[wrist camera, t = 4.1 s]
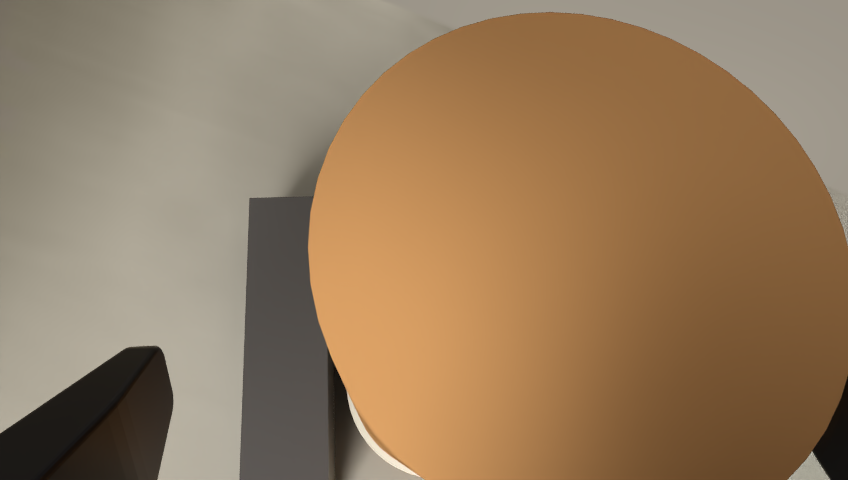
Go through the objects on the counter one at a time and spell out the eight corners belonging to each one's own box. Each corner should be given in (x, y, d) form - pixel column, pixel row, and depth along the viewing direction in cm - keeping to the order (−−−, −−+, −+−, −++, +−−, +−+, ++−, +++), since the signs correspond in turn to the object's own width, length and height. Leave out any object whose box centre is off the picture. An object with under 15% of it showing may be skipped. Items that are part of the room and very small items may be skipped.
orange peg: (514, 467, 16) (963, 541, 4) (352, 479, 16) (282, 607, 3) (497, 308, 18) (784, 0, 5) (348, 315, 17) (290, -4, 5)
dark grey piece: (604, 489, 16) (644, 497, 14) (258, 517, 15) (237, 531, 13) (563, 221, 19) (590, 189, 16) (265, 230, 18) (249, 197, 15)
